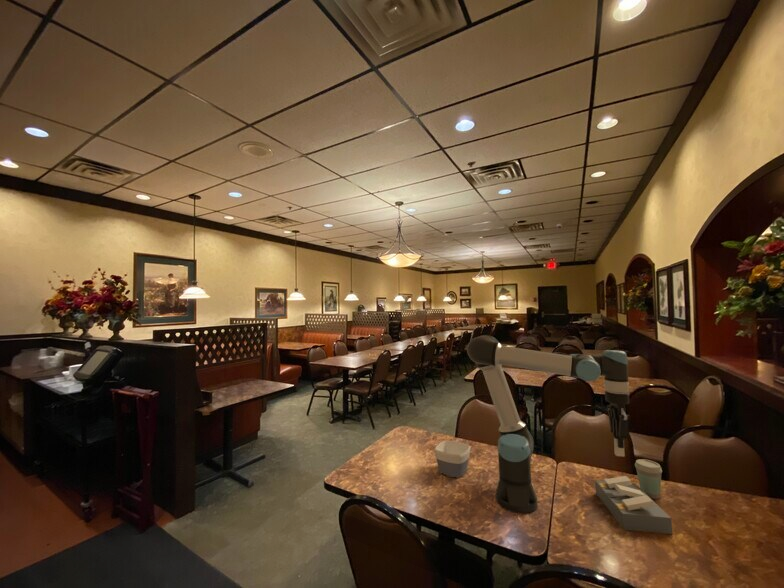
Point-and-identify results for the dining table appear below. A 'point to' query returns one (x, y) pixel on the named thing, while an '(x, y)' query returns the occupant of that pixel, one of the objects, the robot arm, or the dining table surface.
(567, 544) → the dining table surface
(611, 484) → the rocker
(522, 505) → the robot arm
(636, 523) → the switch unit
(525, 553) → the dining table surface
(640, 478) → the coffee cup
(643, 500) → the rocker
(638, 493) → the rocker
